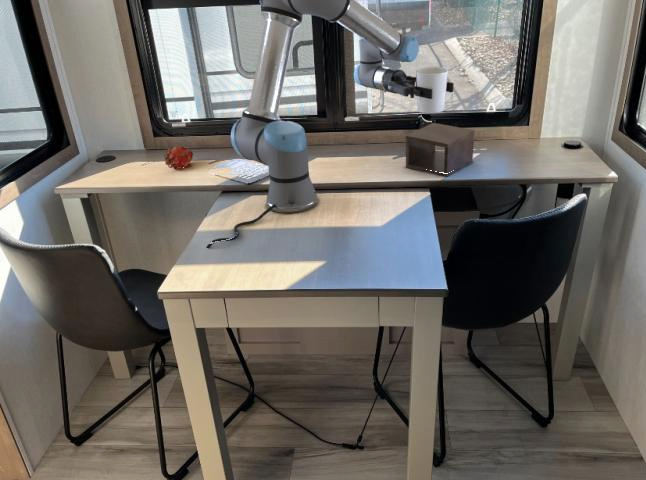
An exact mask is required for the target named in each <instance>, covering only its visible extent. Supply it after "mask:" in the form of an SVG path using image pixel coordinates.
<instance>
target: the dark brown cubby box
mask: <svg viewBox="0 0 646 480" xmlns="http://www.w3.org/2000/svg"><path fill="white" fill-rule="evenodd" d="M475 132H476V130H475V129H470V128H464V127H459V126H452V125H448V124H442V123H435V122H432V123H430V124H427V125H426V126H424V127H422V128H419V129H417V130H415V131H413V132H411V133H409V134H406V135H405V168H406V169H410V170H414V171H419V172H421V173H422V172H423V173H427V174H431V175H436V176H440V177H444V178H448V177H450V176H452V175H453V174H455V173H456V172H459V171H460V170H462V169H463V168H465V167H467V166H468V165H470V164H472V163H473V159H474V147H475V146H474V144H475V134H476V133H475ZM436 147H441V148H444V152H443V151H438V150H436ZM426 169H427V170H426ZM430 170H432V171H430ZM453 170H454V171H453ZM435 171H437V172H435ZM451 171H452V172H451ZM439 172H444V173H448V174H443V173H439ZM449 172H450V173H449Z"/></svg>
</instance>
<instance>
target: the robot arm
mask: <svg viewBox="0 0 646 480" xmlns="http://www.w3.org/2000/svg"><path fill="white" fill-rule="evenodd" d="M259 4H260V5H261V7H262V8H261V16H262V17H263V19H264V26H263V31H262V37H261V42H260V46H259V47H260V48H259V52H258V58H257V63H256V67H255V73H254V79H253V84H252V89H251V95H250V100H249V104H248V106H247V107H245V109H243V110H242V114H241V117H240V118H239V119H237V120H236V122H235V123H233V125H232V127H231V131H230V142H231V145H232V148H233V149H234V151H235V152H236V153H237V154H238V155H239V156H241V157H243V158H244V159H245V160H247V161H252V162H255V163H258V164H261V165H265V166H268V167H269V185H268V193H267V196H266V206H267V209H266V210H264V211H263V212H262V213H261V214H260V215H258V216H257V217H256V218H254V219H252V220H248V221H242V222H239V223H237V224H236V225H234V227H233V231H234V233H235V235H236V234H237V233H236V232H238V234H237V236H235V235H234V236H235V237H234V236H233V237H234V238H232V239H230V240H226V239H229V238H230V237H220V238H215V239H213V240H211V241H212V242H215V241H220V242H222V241H221V240H226V241H225V242H232V241H234V240H236V239H238V238H239V236H240V233H239V230H238V228H240V227H241V226H247V225H252V224H255V223H257V222H258V221H260V220H262V218H264V217H265V216H266V215H267V214H268V213H269V212H271V211H273V212H275V213H282V214H293V213H301V212H304V211H308V210H309V209H311V208H313V207H315V206H316V205H317V203H318V192H317V191H316V190H315V187H314V185H313V182H312V180H311V177H310V171H309V170H310V168H309V157H308V155H309V154H308V141H307V137H306V136H307V135H306V131H305V128H304V127H303V126H302V125H301V124H299V123H298V122H294V121H289V120H287V121H285V120H282V119H281V118H280V116H279V114H278V112H279V107H280V103H281V97H282V94H283V88H284V83H285V77H286V74H287V67H288V63H289V59H290V55H291V54H290V53H291V48H292V43H293V38H294V34H295V30H296V29H297V28H298V27H300V26H301V25H302V20H303V16H304V15H307V16H316V17H320V18H322V19H325V20H326V21H328V22H330V23H338V24H339V25H341V27H344V28H345V29H347V30H348V31H350V32H351V33H353V34H354V35H356V36H358V37H359V38H358V46H359V47H358V48H359V63H358V64H357V65H356V66H355V68H354V71H353V78H354V81H355V83H356V84H357V85H359V86H362V87H365V88H367V89H368V88H369V89H374V90H379V91H383V92H384V93H387V92H388V93H392V94H395V95H400V96H402V97H407V98H408V97H410V99H415V97H417V96H419V97H423V98H428V99H432V89H428V88H423V87H418V86H417V81H416V76H412V75H407V74H406V72H405V71H404V70H402V69H400V68H399V69H398V68H395V67H389V66H384V65H383V60H388V61H389V60H390V61H394V62H401V63H411V62H414V61H415V60H416V59H417V57H418V54H419V50H420V45H419V41H418V39H417V38H416V37H413V36H410V35H404V34H402V33H401V32H400V31H398V30H397V29H395V28H394V27H393V26H391V25H390V24H389V23H387V21H384V20H383V19H381V17H379V16H378V15H376V14H375V13H373V12H372V11H371V10H370V9H368V8H367V7H366V6H365V5H363V4H362V3H360V2H359V1H358V0H259ZM454 87H455V85H454V82H449V81H447V87H446V93H454ZM220 242H219V243H220ZM214 244H215V243H213V244H209V243H208V244H207V245H206V247H205V249H206V248H208V249H210V248H211V247H212V245H214ZM208 249H207V250H208Z"/></svg>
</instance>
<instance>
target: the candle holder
mask: <svg viewBox="0 0 646 480" xmlns="http://www.w3.org/2000/svg"><path fill="white" fill-rule="evenodd" d="M448 75H449V69H448V68H447V67H442V66H426V67H420V68H418V69H416V70H415V77H416V81H417V86H418V87H423V88H428V89H432V99H428V98H423V97H419V96H416V103H417V105H416V107H417V111H418V112H419V113H421V114H430V115H431V114H438V113H442V112H443V111H444V110H445V105H446V97H447V91H446V87H447V82H448Z"/></svg>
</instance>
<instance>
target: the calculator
mask: <svg viewBox="0 0 646 480" xmlns="http://www.w3.org/2000/svg"><path fill="white" fill-rule="evenodd" d="M227 167H231V168H233V169H231V170H232V172H233V173H232V172H231V171H230V172H227V174H230V173H231V174H230V175H234V174H235V175H234V176H238V175H239V177H242V176H244V175H247V176H244V177H242V178H246V177H248V176H252V175H253V174H254V175H253V176H252V177H256V176H258V175H262V174H265V173H268V172H269V167H268V165H265V164H262V163H258V162H254V161H250V160H246V159H240V158H233V159H230V160H228V161H226V162H224V163H221V164H219V165H216V166H214V167H212V168H210V169H209V170H211V169H216V168H218V169H219V168H221V169H222V168H227ZM211 171H212V170H211ZM236 173H238V174H236ZM209 174H210V175H212V176H215V175H214V174H215V173H211V172H209ZM240 174H242V175H240ZM216 175H217V174H216ZM252 177H248V178H246V179H250V178H252ZM267 177H270V175H269V174H267V175H264V176H262V177H260V178H258V179H260V180H262V179H264V178H267ZM260 180H259V181H260Z"/></svg>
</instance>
